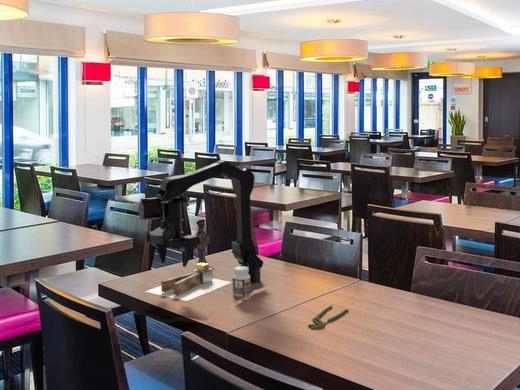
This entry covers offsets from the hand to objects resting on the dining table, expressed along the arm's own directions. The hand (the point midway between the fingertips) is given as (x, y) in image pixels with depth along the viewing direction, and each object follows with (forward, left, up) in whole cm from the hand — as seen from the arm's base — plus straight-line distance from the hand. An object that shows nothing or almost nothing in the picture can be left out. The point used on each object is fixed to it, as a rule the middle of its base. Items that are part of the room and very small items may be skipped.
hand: (173, 264), depth 198 cm
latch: (0, -14, -5) cm, 15 cm away
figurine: (+17, -34, -10) cm, 40 cm away
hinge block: (0, -14, -9) cm, 17 cm away
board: (0, -7, -10) cm, 13 cm away
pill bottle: (-20, -9, -10) cm, 25 cm away
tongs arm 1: (+2, -4, -9) cm, 10 cm away
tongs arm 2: (-2, -4, -9) cm, 10 cm away
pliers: (-51, -7, -11) cm, 53 cm away
